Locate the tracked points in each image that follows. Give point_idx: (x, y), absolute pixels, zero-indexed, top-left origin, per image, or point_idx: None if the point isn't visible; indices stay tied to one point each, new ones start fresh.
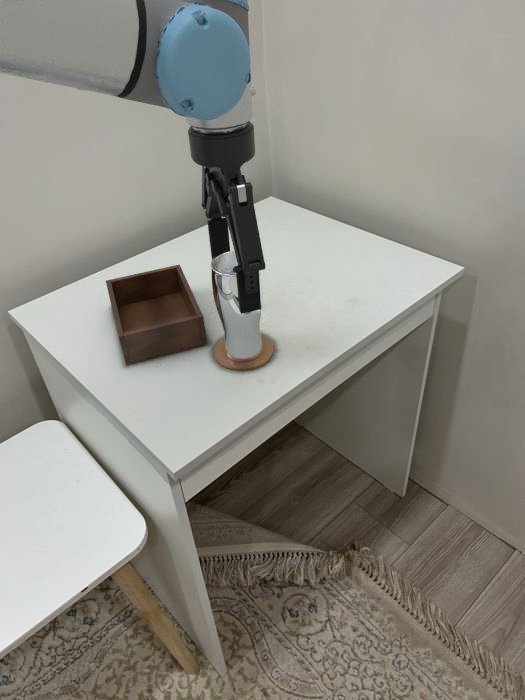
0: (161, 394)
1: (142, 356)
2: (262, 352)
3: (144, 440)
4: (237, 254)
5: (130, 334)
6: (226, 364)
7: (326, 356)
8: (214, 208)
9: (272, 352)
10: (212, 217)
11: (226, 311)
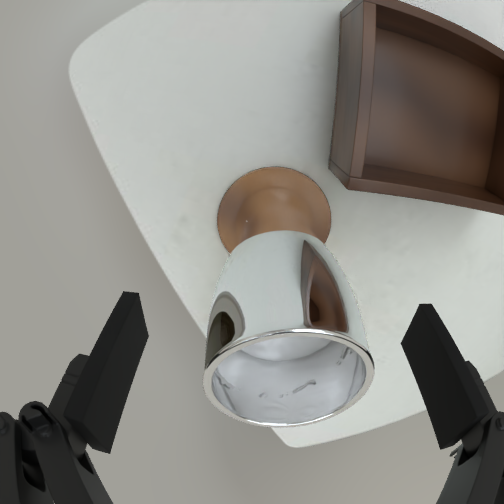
0: (222, 45)
1: (342, 39)
2: None
3: (126, 13)
4: (44, 467)
5: (362, 13)
6: (244, 180)
7: (204, 320)
8: (464, 486)
9: None
10: (480, 430)
11: (237, 253)
